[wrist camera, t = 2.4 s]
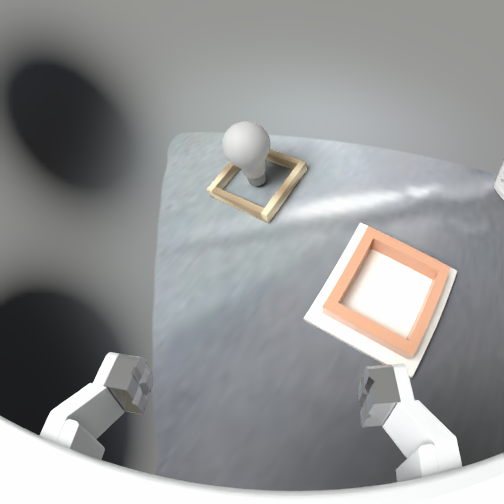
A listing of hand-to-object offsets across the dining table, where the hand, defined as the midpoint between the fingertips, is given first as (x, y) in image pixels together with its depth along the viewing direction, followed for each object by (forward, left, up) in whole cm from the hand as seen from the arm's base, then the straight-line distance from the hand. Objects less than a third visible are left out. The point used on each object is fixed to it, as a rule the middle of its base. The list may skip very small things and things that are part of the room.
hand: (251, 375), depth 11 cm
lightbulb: (-21, -20, -24) cm, 38 cm away
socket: (-14, +3, -24) cm, 28 cm away
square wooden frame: (-21, -20, -24) cm, 38 cm away
